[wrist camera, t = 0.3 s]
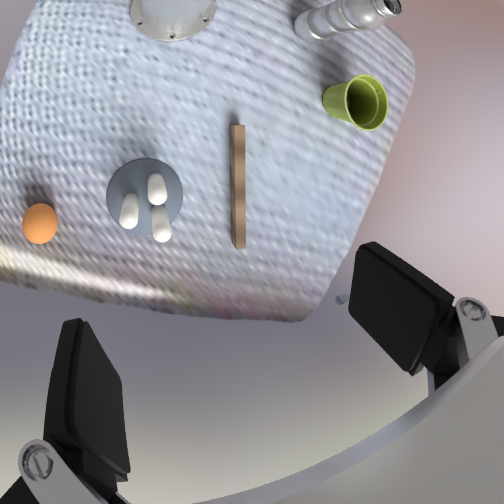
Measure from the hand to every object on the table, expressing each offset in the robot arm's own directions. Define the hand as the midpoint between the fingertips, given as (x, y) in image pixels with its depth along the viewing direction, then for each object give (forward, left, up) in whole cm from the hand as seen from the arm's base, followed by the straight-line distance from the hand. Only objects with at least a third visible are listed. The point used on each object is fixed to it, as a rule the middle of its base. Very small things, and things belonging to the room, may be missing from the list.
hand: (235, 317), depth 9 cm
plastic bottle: (-22, +23, -36) cm, 48 cm away
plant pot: (-9, +29, -36) cm, 48 cm away
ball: (+6, -21, -33) cm, 39 cm away
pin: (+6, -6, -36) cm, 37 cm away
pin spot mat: (+6, -4, -36) cm, 37 cm away
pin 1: (+3, -2, -36) cm, 36 cm away
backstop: (+6, +11, -36) cm, 38 cm away
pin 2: (+8, -2, -36) cm, 37 cm away
